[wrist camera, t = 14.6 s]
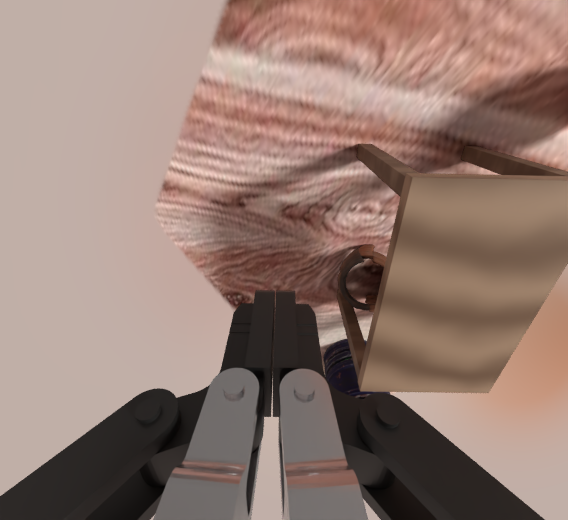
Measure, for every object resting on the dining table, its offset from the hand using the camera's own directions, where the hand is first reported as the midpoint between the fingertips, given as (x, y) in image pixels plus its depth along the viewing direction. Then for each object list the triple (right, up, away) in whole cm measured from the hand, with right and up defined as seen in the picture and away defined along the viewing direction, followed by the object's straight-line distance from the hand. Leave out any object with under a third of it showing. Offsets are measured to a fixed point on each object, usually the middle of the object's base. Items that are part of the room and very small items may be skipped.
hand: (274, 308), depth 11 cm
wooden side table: (+16, +6, +28) cm, 33 cm away
